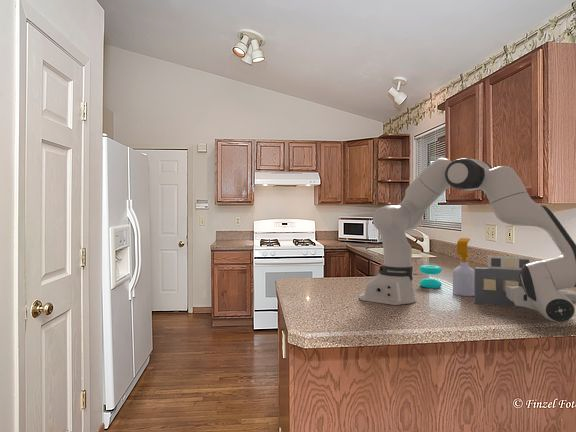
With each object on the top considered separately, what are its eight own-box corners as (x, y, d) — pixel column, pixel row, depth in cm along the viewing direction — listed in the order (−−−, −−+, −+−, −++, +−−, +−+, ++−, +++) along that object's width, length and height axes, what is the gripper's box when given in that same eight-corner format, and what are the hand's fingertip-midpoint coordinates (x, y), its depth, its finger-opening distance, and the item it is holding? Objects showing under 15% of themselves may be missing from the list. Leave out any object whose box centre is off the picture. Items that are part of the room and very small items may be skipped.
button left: (484, 289, 142) (484, 279, 142) (482, 286, 148) (482, 276, 148) (495, 290, 140) (495, 280, 140) (493, 287, 147) (493, 277, 147)
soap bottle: (478, 294, 161) (478, 238, 160) (471, 297, 154) (471, 239, 154) (456, 291, 167) (457, 237, 167) (449, 294, 160) (449, 238, 160)
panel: (475, 303, 144) (475, 255, 144) (474, 301, 147) (474, 254, 147) (547, 309, 135) (548, 258, 135) (545, 307, 138) (545, 257, 137)
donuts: (416, 264, 182) (436, 264, 182) (416, 284, 182) (436, 284, 182) (423, 267, 172) (445, 267, 172) (423, 288, 172) (445, 288, 172)
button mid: (506, 292, 136) (506, 281, 136) (503, 288, 143) (503, 278, 143) (518, 293, 135) (518, 282, 135) (514, 289, 141) (514, 279, 141)
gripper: (584, 291, 115) (570, 283, 128) (509, 286, 123) (503, 279, 136) (584, 311, 115) (570, 301, 128) (509, 305, 123) (503, 296, 136)
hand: (535, 290), depth 132 cm, fingers closed
